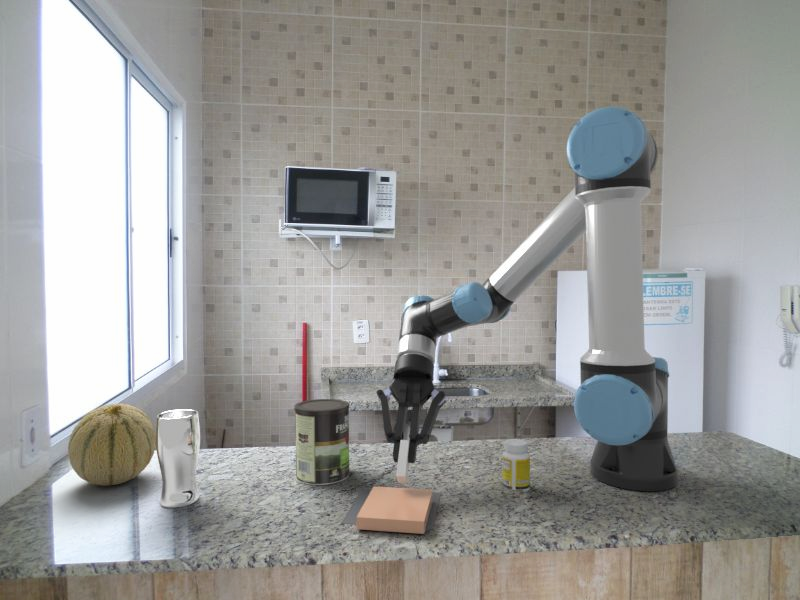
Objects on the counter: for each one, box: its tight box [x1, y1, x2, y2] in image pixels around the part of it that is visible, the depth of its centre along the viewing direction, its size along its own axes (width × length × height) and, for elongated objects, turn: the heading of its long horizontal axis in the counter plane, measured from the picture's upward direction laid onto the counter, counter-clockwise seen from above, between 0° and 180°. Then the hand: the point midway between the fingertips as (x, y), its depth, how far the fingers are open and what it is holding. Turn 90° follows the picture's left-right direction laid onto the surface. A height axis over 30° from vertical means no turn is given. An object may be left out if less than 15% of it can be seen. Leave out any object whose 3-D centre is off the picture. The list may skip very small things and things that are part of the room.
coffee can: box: [293, 398, 350, 486], centre depth 102 cm, size 10×10×14 cm
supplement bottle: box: [502, 438, 531, 493], centre depth 97 cm, size 5×5×8 cm
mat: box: [340, 487, 442, 531], centre depth 88 cm, size 14×14×1 cm
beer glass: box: [155, 408, 201, 509], centre depth 92 cm, size 7×7×15 cm
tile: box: [356, 485, 434, 535], centre depth 84 cm, size 10×2×12 cm
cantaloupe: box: [67, 403, 156, 487], centre depth 101 cm, size 15×15×15 cm
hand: (401, 479), depth 89 cm, fingers closed
